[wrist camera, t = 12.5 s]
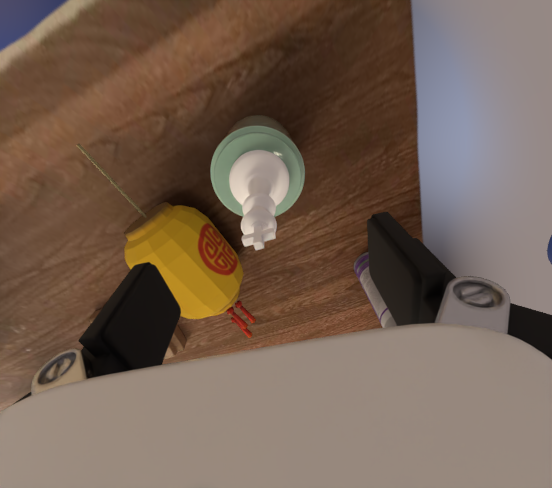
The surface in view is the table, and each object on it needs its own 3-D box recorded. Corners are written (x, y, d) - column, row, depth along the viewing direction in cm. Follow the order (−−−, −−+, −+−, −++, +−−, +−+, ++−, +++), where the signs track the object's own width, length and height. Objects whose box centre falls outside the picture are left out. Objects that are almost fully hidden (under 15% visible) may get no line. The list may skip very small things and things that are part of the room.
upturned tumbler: (231, 104, 26) (218, 112, 18) (304, 129, 27) (321, 146, 20) (216, 178, 30) (201, 210, 22) (281, 196, 31) (288, 232, 24)
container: (387, 271, 38) (449, 363, 26) (356, 280, 39) (402, 374, 26) (383, 246, 36) (449, 334, 23) (350, 256, 37) (398, 347, 24)
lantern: (279, 363, 31) (59, 134, 17) (218, 371, 35) (-2, 192, 21) (289, 299, 39) (143, 104, 25) (238, 311, 43) (87, 150, 29)
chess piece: (295, 199, 22) (317, 271, 14) (241, 215, 23) (229, 293, 14) (280, 141, 19) (295, 184, 11) (219, 160, 20) (189, 215, 12)
